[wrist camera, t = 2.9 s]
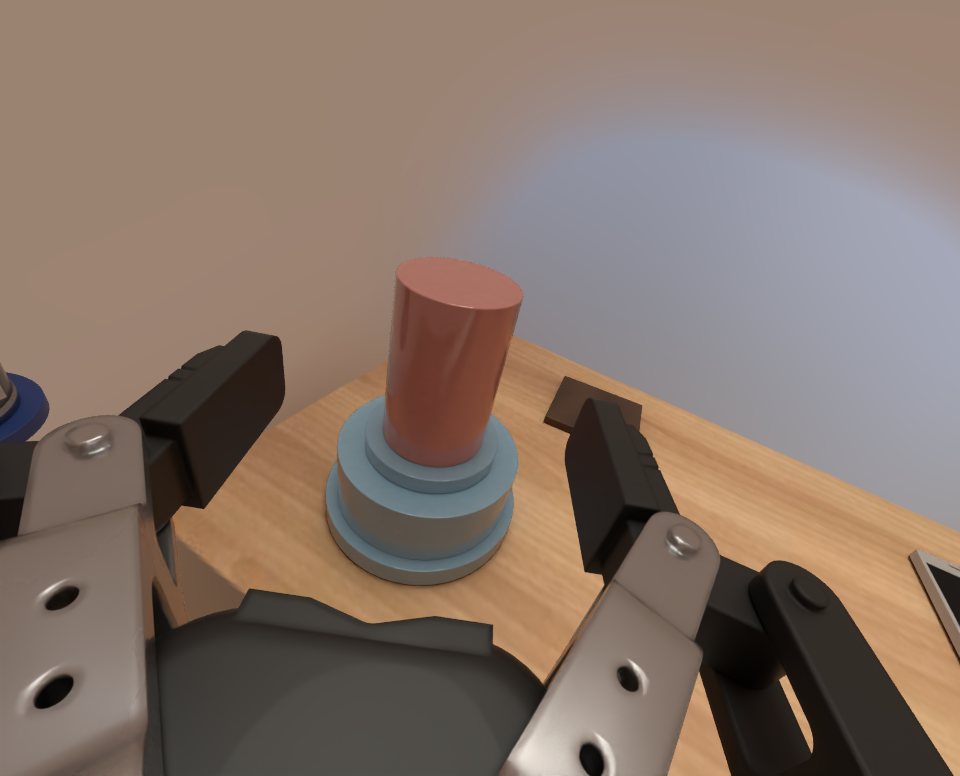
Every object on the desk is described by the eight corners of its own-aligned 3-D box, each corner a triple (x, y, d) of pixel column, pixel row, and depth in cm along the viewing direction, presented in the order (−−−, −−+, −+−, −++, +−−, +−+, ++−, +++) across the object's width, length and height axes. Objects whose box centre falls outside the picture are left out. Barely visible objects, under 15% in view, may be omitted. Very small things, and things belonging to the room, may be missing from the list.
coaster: (543, 422, 40) (545, 415, 39) (562, 381, 47) (565, 375, 47) (633, 459, 38) (636, 453, 38) (639, 410, 45) (642, 405, 45)
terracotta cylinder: (360, 438, 24) (368, 275, 18) (415, 388, 29) (434, 249, 23) (457, 484, 23) (497, 322, 17) (497, 423, 28) (538, 283, 22)
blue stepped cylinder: (280, 524, 26) (271, 448, 22) (393, 417, 36) (400, 354, 32) (465, 626, 23) (490, 559, 19) (530, 478, 33) (554, 416, 30)
